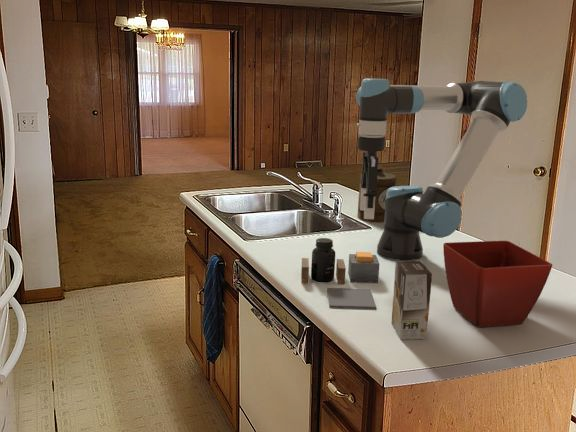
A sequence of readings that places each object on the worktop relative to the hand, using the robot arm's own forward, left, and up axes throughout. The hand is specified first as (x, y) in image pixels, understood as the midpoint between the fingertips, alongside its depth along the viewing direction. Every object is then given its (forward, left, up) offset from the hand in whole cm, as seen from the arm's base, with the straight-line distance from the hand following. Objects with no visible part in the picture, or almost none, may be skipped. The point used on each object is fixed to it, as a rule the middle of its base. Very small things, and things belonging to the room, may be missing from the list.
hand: (366, 214), depth 160 cm
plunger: (0, 0, -18) cm, 18 cm away
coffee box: (-7, +34, -20) cm, 40 cm away
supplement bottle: (+12, +2, -20) cm, 23 cm away
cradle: (+12, +2, -20) cm, 23 cm away
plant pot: (-29, +24, -20) cm, 43 cm away
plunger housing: (0, 0, -20) cm, 20 cm away
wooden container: (-13, -71, -20) cm, 75 cm away
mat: (+5, +16, -20) cm, 26 cm away
